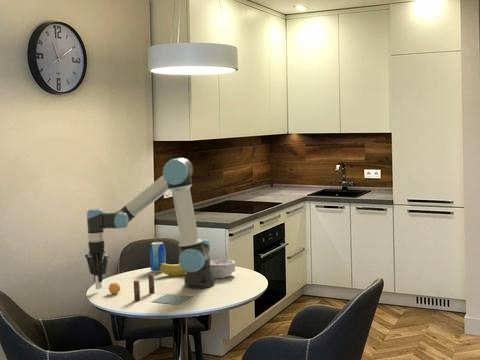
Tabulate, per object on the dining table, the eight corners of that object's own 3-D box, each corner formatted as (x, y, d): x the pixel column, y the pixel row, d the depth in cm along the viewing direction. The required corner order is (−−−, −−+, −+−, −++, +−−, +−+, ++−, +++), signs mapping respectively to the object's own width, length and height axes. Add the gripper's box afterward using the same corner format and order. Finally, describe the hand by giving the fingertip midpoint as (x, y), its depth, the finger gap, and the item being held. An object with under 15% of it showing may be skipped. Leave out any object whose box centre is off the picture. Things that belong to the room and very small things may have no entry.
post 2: (155, 292, 289) (154, 274, 288) (152, 294, 287) (151, 275, 286) (151, 292, 290) (150, 274, 290) (148, 293, 288) (147, 275, 287)
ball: (122, 292, 291) (122, 281, 291) (116, 295, 286) (115, 284, 286) (113, 291, 293) (112, 280, 293) (106, 294, 288) (105, 283, 288)
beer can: (163, 273, 329) (162, 244, 328) (148, 273, 331) (147, 244, 330) (168, 269, 337) (166, 241, 336) (153, 269, 339) (152, 241, 338)
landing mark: (193, 296, 280) (193, 296, 280) (178, 304, 268) (178, 304, 268) (167, 294, 286) (167, 293, 286) (151, 302, 273) (151, 301, 273)
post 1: (141, 299, 278) (140, 280, 277) (138, 301, 275) (137, 282, 275) (136, 299, 279) (135, 280, 278) (133, 300, 276) (132, 281, 276)
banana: (160, 278, 318) (158, 240, 317) (158, 275, 324) (156, 239, 322) (201, 274, 324) (200, 237, 323) (199, 271, 330) (198, 235, 328)
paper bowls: (227, 271, 328) (227, 257, 327) (240, 277, 314) (240, 262, 314) (202, 275, 321) (201, 261, 320) (214, 281, 307) (213, 266, 307)
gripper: (112, 239, 292) (114, 287, 294) (90, 238, 297) (92, 285, 299) (102, 242, 285) (105, 291, 287) (80, 241, 290) (83, 289, 292)
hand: (98, 288), depth 293 cm, fingers closed
